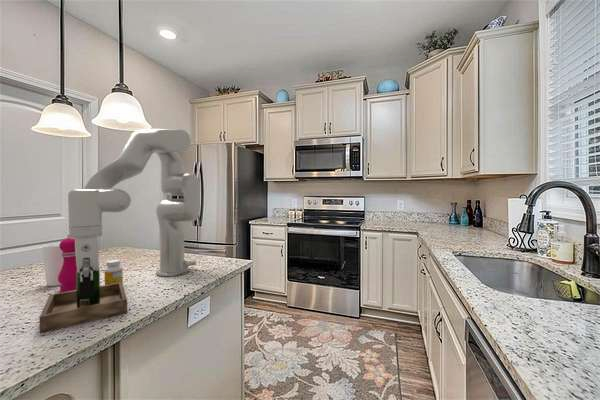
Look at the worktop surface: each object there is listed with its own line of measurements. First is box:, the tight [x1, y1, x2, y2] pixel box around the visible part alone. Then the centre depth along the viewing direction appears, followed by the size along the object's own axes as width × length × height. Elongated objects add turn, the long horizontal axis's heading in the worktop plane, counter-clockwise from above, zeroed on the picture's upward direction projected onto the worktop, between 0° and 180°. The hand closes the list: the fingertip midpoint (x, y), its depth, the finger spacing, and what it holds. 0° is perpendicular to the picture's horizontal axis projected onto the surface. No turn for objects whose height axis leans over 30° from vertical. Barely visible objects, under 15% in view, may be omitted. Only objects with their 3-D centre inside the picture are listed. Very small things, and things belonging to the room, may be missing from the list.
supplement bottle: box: [104, 259, 124, 285], centre depth 96 cm, size 5×5×10 cm
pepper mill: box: [58, 233, 77, 293], centre depth 95 cm, size 7×7×20 cm
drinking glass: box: [42, 242, 64, 287], centre depth 100 cm, size 7×7×15 cm
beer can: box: [76, 267, 101, 308], centre depth 78 cm, size 5×5×12 cm
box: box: [39, 282, 128, 334], centre depth 78 cm, size 18×18×4 cm
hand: (87, 289), depth 78 cm, fingers open, 9 cm apart
